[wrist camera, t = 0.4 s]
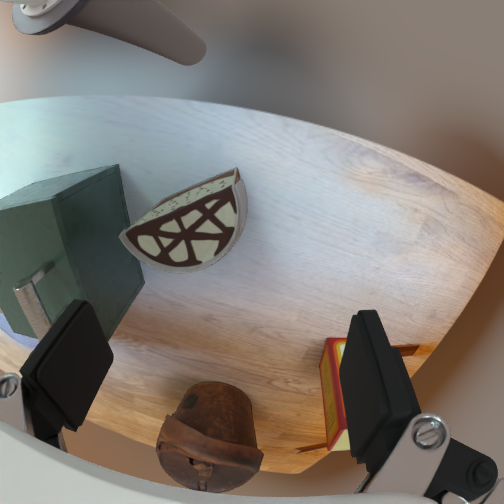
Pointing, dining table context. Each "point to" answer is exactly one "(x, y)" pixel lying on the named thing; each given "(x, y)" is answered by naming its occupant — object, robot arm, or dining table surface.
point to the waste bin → (94, 237)
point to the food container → (191, 225)
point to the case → (210, 439)
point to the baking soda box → (333, 395)
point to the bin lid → (36, 267)
